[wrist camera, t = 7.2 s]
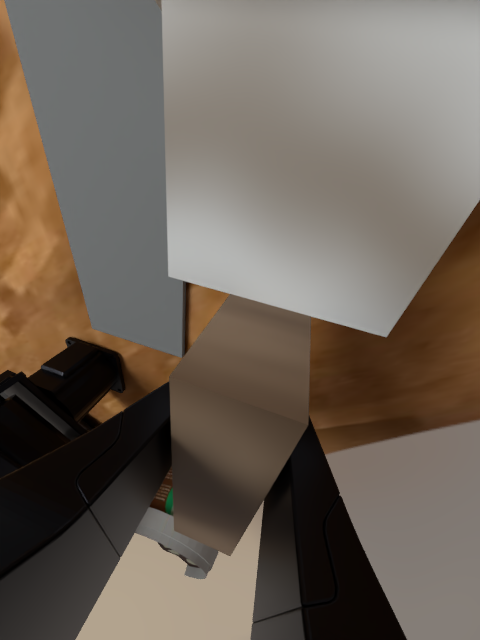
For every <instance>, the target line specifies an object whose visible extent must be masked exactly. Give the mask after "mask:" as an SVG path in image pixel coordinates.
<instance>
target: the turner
mask: <svg viewBox="0 0 480 640" xmlns="http://www.w3.org/2000/svg"><path fill="white" fill-rule="evenodd" d="M162 40H163V80H164V121H165V162H166V202H167V243H168V277H172V278H175V279H179V280H183V281H186V282H190V283H193V284H197V285H200V286H204V287H208V288H211V289H215V290H218V291H222V292H226V293H229V294H230V295H229V296H228V298H227V299H226V300H225V302H224V303H223V305H222V306H221V307H220V309H219V310H218V311H217V313H216V314H215V315H214V317H213V318H212V319H211V321H210V322H209V323H208V325H207V326H206V327H205V329H204V330H203V332H202V333H201V334H200V336H199V337H198V338H197V340H196V341H195V342H194V344H193V345H192V346H191V348H190V349H189V350H188V352H187V353H186V355H185V356H184V357H183V359H182V360H181V361H180V363H179V364H178V365H177V367H176V368H175V369H174V371H173V372H172V373H171V375H170V376H169V383H170V416H171V450H172V483H173V516H174V531H176V532H178V533H180V534H182V535H185V536H187V537H189V538H191V539H193V540H196V541H198V542H200V543H202V544H204V545H207V546H209V547H211V548H213V549H215V550H218V551H220V552H222V553H224V554H226V555H229V556H231V554H232V552H233V551H234V549H235V547H236V546H237V544H238V542H239V541H240V539H241V537H242V536H243V534H244V532H245V531H246V529H247V527H248V525H249V524H250V522H251V520H252V519H253V517H254V515H255V514H256V512H257V510H258V509H259V507H260V505H261V504H262V502H263V500H264V499H265V497H266V495H267V494H268V492H269V490H270V489H271V487H272V485H273V483H274V482H275V480H276V478H277V477H278V475H279V473H280V472H281V470H282V468H283V467H284V465H285V463H286V462H287V460H288V458H289V457H290V455H291V453H292V452H293V450H294V448H295V447H296V445H297V443H298V441H299V440H300V438H301V436H302V435H303V433H304V431H305V430H306V428H307V426H308V419H309V378H310V337H311V316H312V317H315V318H319V319H322V320H326V321H329V322H333V323H337V324H340V325H344V326H347V327H351V328H354V329H358V330H362V331H365V332H369V333H372V334H376V335H380V336H383V337H387V336H388V334H389V333H390V331H391V330H392V328H393V327H394V325H395V324H396V322H397V321H398V319H399V318H400V317H401V315H402V314H403V312H404V311H405V309H406V308H407V306H408V305H409V303H410V302H411V300H412V299H413V297H414V296H415V294H416V293H417V292H418V290H419V289H420V287H421V286H422V284H423V283H424V281H425V280H426V278H427V277H428V275H429V274H430V272H431V271H432V269H433V268H434V266H435V265H436V264H437V262H438V261H439V259H440V258H441V256H442V255H443V253H444V252H445V250H446V249H447V247H448V246H449V244H450V243H451V241H452V240H453V239H454V237H455V236H456V234H457V233H458V231H459V230H460V228H461V227H462V225H463V224H464V222H465V221H466V219H467V218H468V216H469V215H470V213H471V212H472V211H473V209H474V208H475V206H476V205H477V203H478V202H479V200H480V0H162Z"/></svg>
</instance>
